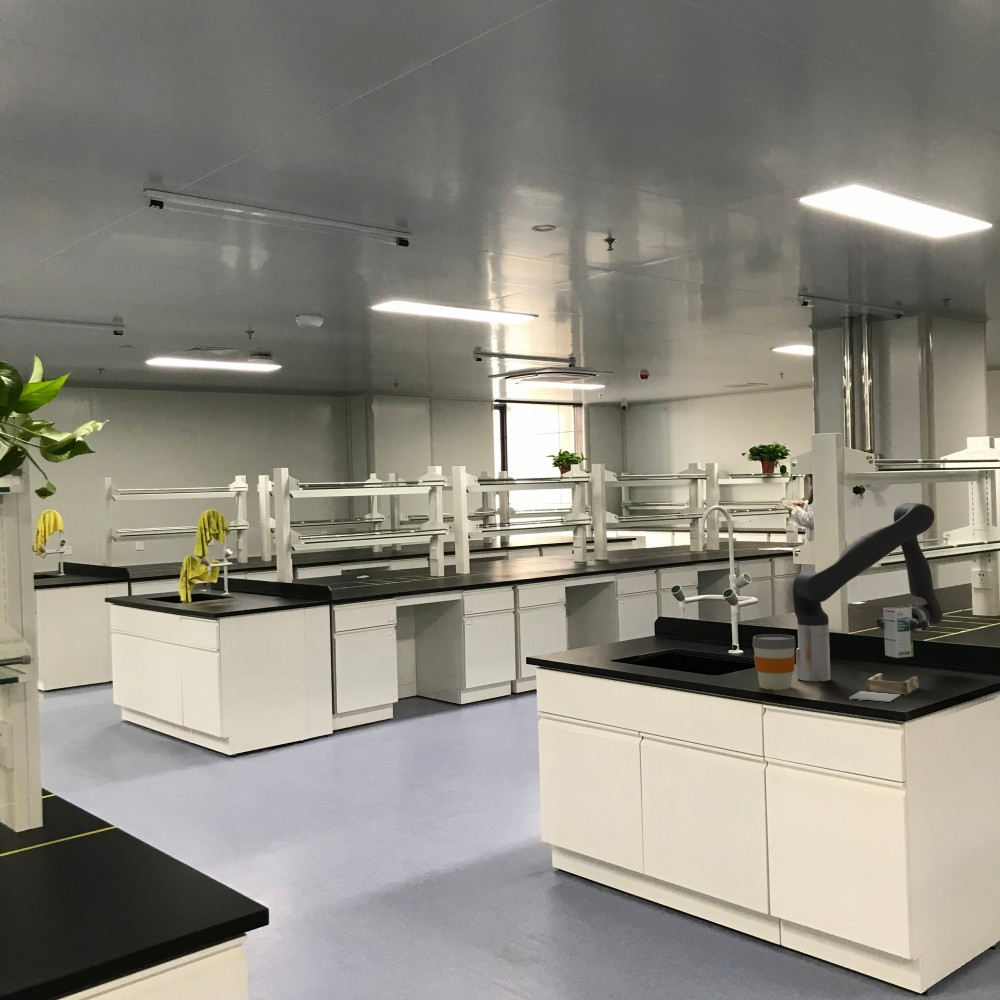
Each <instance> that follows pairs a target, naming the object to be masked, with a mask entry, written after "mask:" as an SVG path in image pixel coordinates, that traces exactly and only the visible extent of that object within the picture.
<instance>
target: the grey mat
mask: <svg viewBox="0 0 1000 1000" xmlns="http://www.w3.org/2000/svg"><path fill="white" fill-rule="evenodd" d="M899 696H900V697H901V695H900V694H888V693H877V692H867V691H866V690H865V691H862V690H860V691H858V692H856V693H854V694H853V695H850V696H849V698H848V699H849V700H852V699H858V700H857V701H862V700H874V701H885V702H891V701H892V700H894V699H896V698H897V697H899ZM900 697H899V698H900ZM897 699H898V698H897ZM897 699H896V700H897ZM894 701H895V700H894ZM891 703H892V702H891Z"/></svg>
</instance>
